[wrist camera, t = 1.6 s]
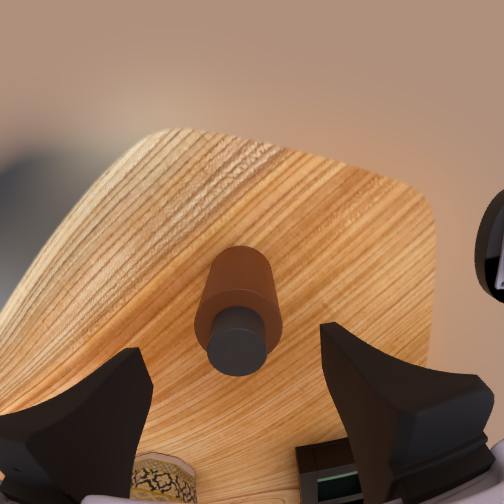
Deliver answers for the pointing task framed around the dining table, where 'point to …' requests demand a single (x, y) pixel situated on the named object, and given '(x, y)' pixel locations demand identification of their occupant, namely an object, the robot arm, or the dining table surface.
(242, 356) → the spice bottle
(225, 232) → the dining table surface
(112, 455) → the robot arm
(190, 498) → the ceramic cup
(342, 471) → the holder
